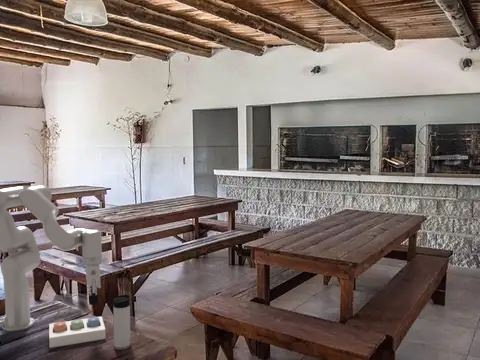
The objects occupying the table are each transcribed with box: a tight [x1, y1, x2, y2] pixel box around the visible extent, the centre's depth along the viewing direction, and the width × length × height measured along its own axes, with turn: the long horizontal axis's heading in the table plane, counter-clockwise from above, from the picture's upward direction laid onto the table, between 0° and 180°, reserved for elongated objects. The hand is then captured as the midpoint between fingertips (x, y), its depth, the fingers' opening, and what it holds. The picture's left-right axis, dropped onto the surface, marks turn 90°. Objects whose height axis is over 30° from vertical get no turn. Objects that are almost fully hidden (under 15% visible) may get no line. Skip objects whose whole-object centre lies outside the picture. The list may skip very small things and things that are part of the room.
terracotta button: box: [54, 321, 66, 333], centre depth 178 cm, size 5×5×4 cm
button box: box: [48, 316, 107, 349], centre depth 181 cm, size 21×14×4 cm, turn 113°
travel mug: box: [113, 294, 131, 351], centre depth 172 cm, size 6×7×20 cm
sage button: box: [71, 319, 83, 330], centre depth 181 cm, size 5×5×4 cm
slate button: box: [88, 316, 99, 327], centre depth 183 cm, size 5×5×4 cm
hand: (93, 302), depth 183 cm, fingers closed
